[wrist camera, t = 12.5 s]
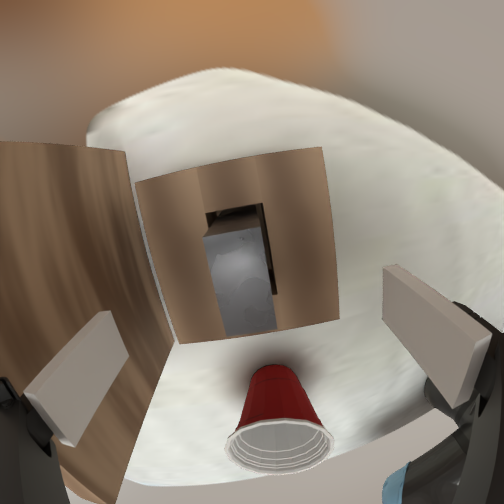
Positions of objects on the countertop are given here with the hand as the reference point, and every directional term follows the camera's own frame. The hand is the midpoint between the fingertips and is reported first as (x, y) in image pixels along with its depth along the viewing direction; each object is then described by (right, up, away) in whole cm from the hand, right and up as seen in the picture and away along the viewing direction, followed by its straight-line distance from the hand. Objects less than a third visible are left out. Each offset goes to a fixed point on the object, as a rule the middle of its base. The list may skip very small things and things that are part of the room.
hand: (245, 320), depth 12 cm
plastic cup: (+3, -13, +21) cm, 25 cm away
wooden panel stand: (-4, +4, +15) cm, 16 cm away
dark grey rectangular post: (0, +4, +14) cm, 15 cm away
